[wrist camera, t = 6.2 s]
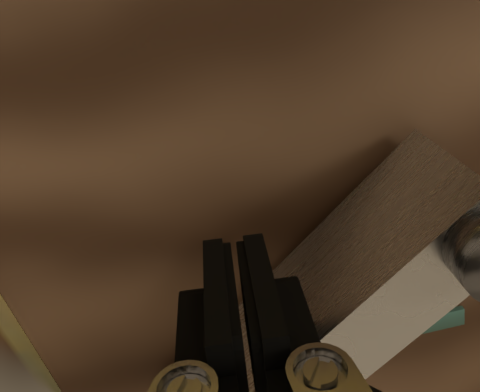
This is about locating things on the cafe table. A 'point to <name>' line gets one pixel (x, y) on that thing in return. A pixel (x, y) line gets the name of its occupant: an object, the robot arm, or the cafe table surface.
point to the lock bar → (390, 255)
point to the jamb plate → (209, 159)
